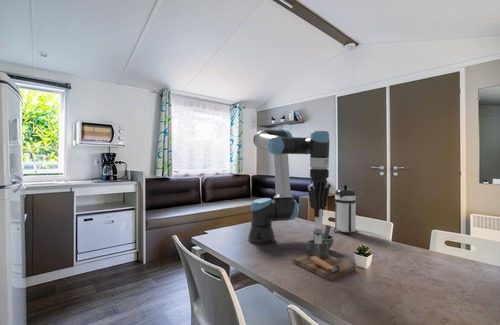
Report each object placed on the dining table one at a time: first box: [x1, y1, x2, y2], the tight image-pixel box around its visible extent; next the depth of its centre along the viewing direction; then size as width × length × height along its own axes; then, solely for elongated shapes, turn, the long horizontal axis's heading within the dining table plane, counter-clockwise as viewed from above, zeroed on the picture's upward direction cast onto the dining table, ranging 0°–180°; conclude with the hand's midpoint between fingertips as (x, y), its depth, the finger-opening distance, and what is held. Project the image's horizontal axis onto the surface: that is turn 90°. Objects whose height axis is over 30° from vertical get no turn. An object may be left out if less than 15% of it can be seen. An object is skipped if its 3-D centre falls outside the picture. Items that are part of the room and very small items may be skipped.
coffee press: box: [333, 184, 358, 236], centre depth 154 cm, size 17×16×30 cm
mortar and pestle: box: [312, 224, 334, 253], centre depth 123 cm, size 11×9×12 cm
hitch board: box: [292, 239, 356, 282], centre depth 104 cm, size 20×16×8 cm
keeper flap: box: [310, 256, 338, 273], centre depth 98 cm, size 11×4×1 cm, turn 35°
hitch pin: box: [313, 228, 324, 245], centre depth 110 cm, size 4×4×14 cm
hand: (318, 224), depth 101 cm, fingers closed
